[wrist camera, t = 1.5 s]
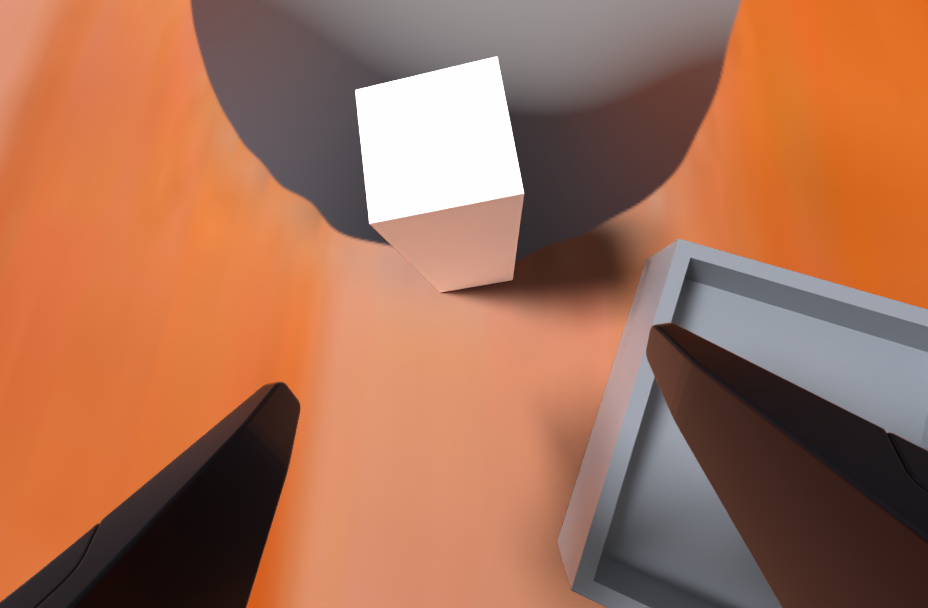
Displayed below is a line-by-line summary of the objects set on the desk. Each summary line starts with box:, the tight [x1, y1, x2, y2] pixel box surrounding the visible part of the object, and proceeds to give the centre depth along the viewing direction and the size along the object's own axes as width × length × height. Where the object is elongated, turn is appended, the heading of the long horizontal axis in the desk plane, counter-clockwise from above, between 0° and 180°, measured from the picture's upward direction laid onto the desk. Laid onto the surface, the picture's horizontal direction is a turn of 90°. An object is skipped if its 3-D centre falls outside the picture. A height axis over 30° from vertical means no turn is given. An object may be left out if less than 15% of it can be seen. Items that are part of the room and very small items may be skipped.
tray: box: [557, 239, 928, 608], centre depth 17 cm, size 18×16×4 cm
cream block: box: [355, 56, 524, 293], centre depth 17 cm, size 5×5×12 cm
